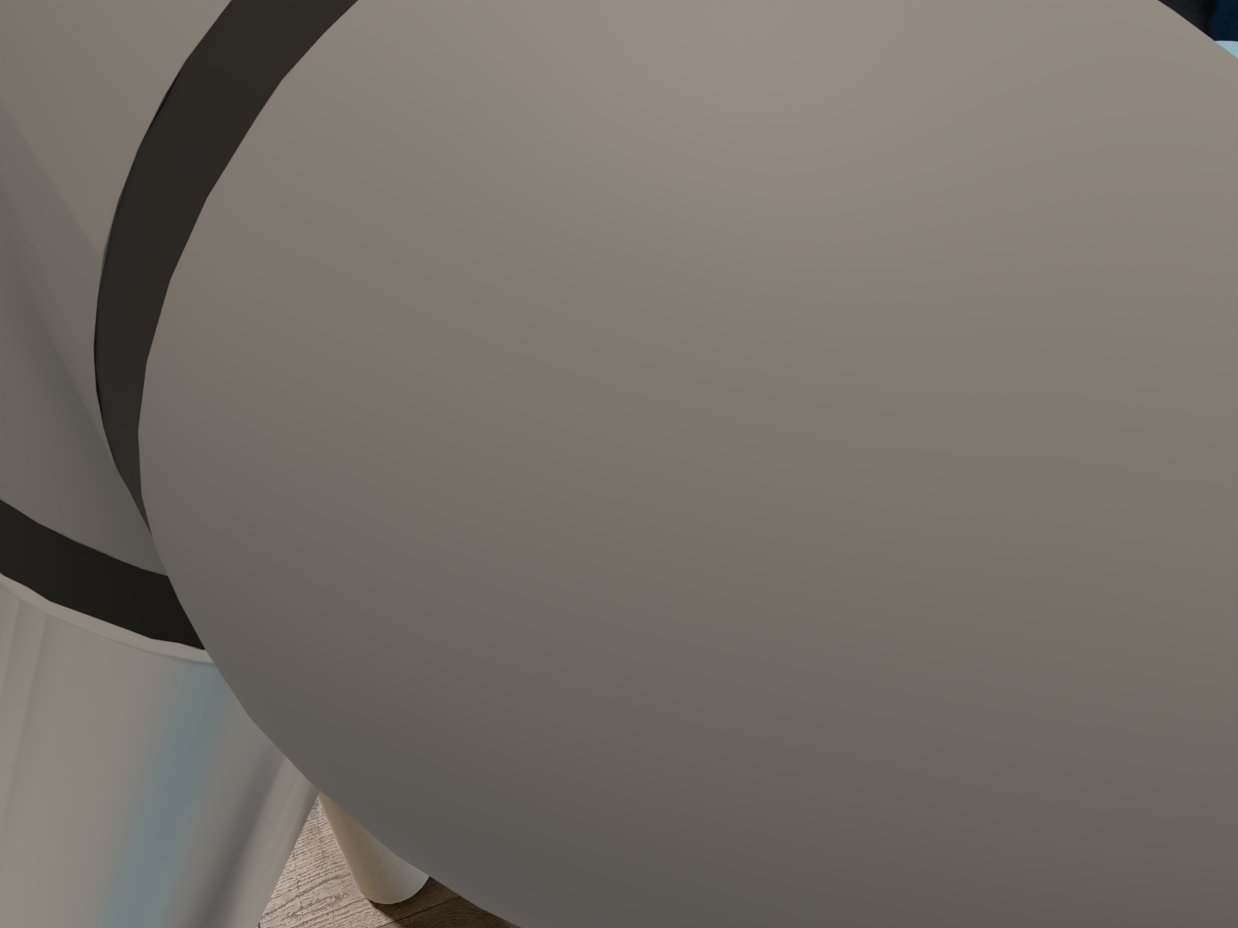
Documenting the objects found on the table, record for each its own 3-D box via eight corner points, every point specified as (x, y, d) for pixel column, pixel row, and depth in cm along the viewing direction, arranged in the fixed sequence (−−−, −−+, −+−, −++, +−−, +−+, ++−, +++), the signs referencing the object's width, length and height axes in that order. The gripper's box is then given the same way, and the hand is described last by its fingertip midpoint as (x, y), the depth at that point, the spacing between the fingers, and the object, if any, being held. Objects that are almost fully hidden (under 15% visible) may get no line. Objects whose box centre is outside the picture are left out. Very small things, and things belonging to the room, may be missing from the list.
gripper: (904, 578, 46) (475, 539, 48) (878, 244, 61) (553, 225, 63) (943, 486, 40) (451, 447, 42) (904, 142, 55) (544, 124, 57)
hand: (512, 314), depth 52 cm, fingers open, 13 cm apart
